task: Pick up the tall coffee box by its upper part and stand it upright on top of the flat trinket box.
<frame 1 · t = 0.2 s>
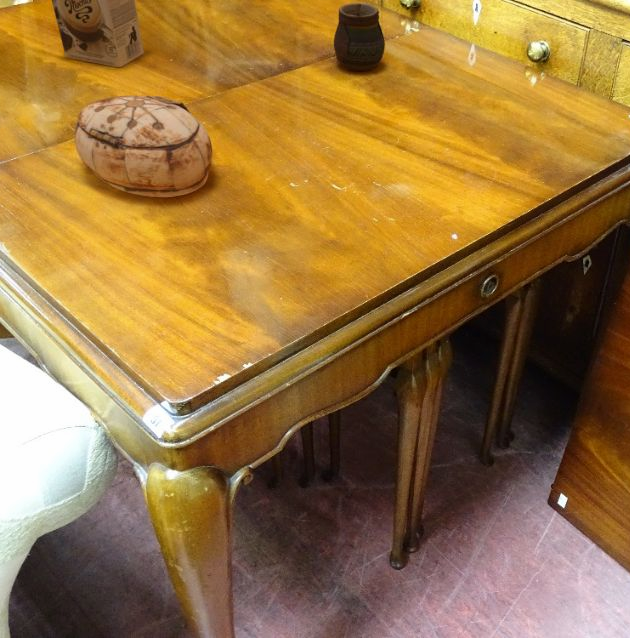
coffee box: (106, 57, 110), on the table
mate gourd: (359, 67, 112), on the table
trinket box: (149, 173, 86), on the table
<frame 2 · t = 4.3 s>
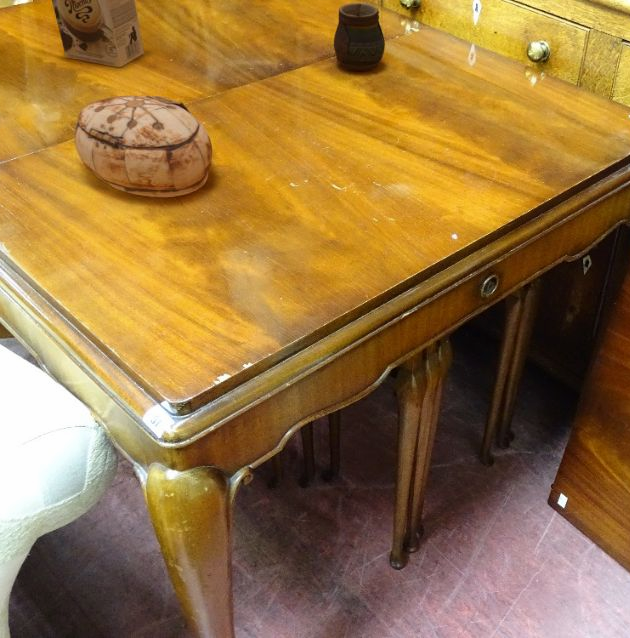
coffee box: (106, 57, 110), on the table, touching gripper
everything else where it was.
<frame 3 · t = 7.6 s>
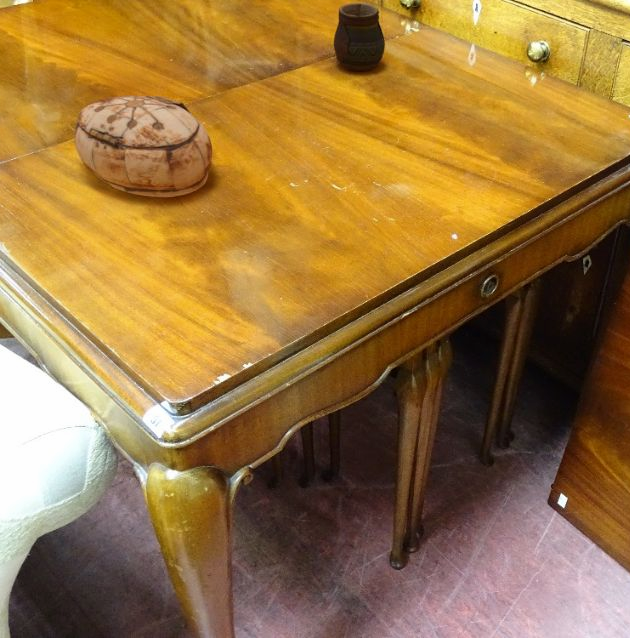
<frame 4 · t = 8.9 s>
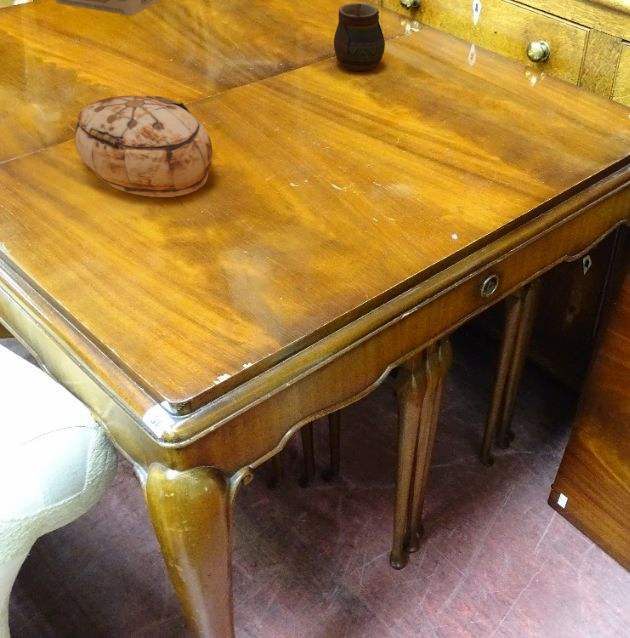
coffee box: (111, 3, 80), point 16 cm above the table, touching gripper
everything else where it was.
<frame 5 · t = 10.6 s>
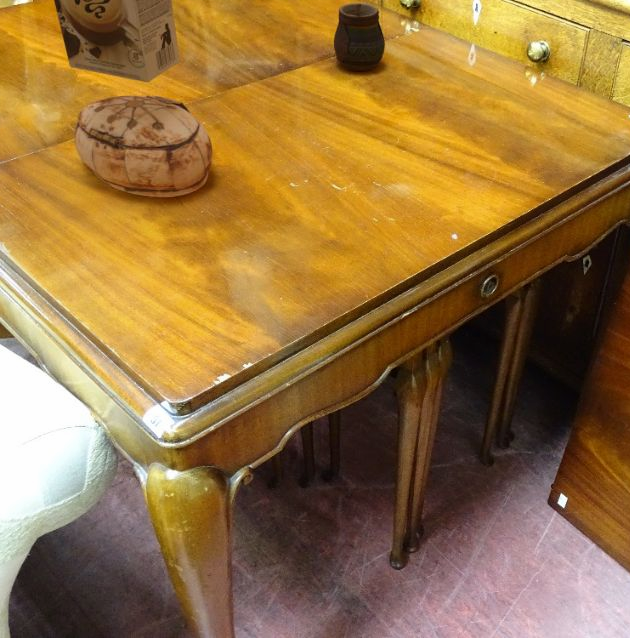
coffee box: (126, 66, 78), point 12 cm above the table, touching gripper
everything else where it was.
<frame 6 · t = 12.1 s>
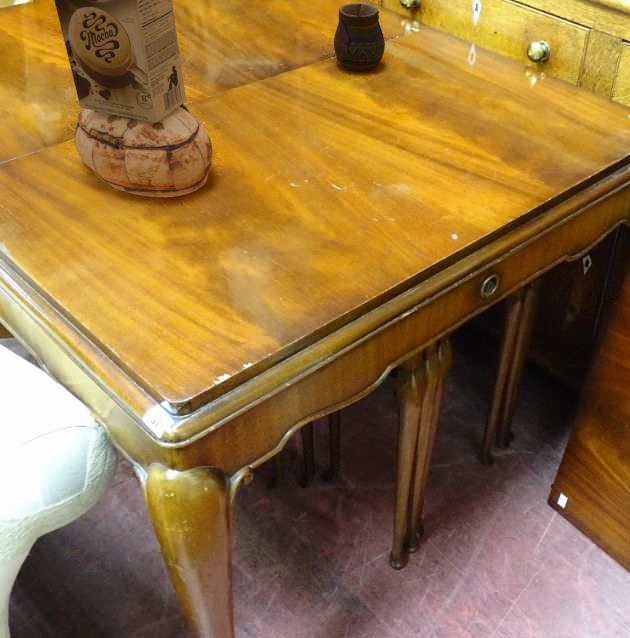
coffee box: (135, 106, 80), point 8 cm above the table, touching gripper, trinket box
trinket box: (149, 173, 86), on the table, touching coffee box
everything else where it was.
when the fingers open (20 cm above the table, at t = 12.5 s): coffee box stays where it is, resting on trinket box.
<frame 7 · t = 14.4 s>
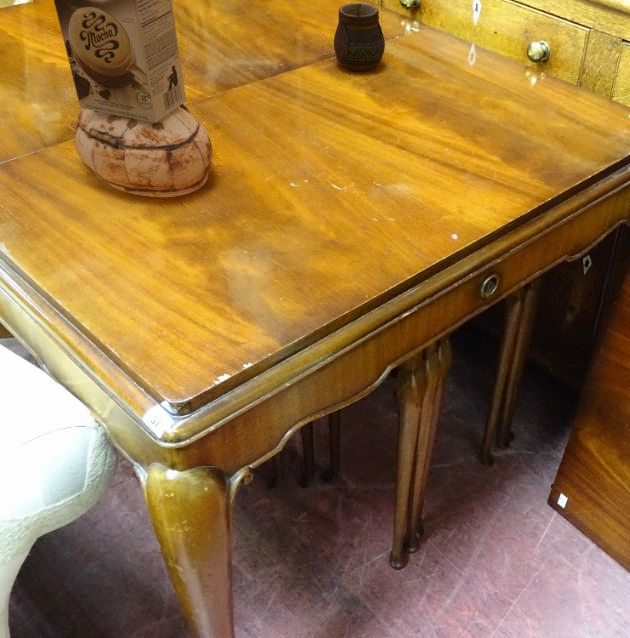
coffee box: (135, 106, 80), point 8 cm above the table, touching trinket box
everything else where it was.
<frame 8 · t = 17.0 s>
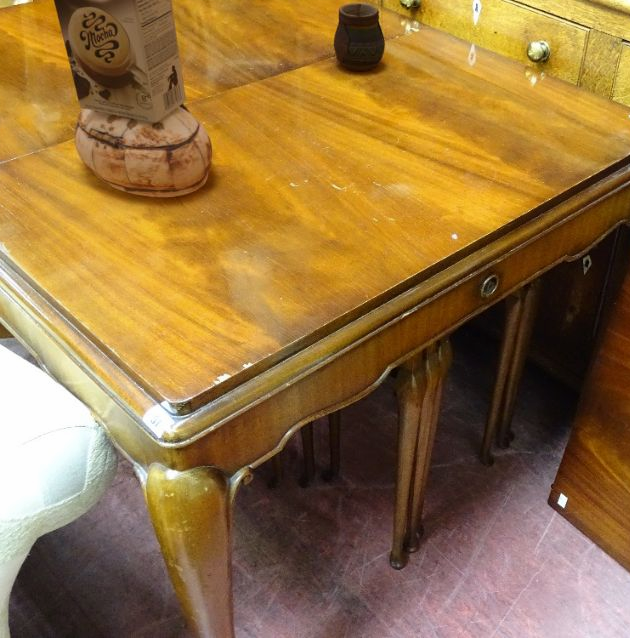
nothing on the table moved.
at the end: coffee box inside the target area on the trinket box (0.1 cm from its centre), point 7.9 cm above the trinket box's base; coffee box tilted 0°; the gripper is holding nothing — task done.
